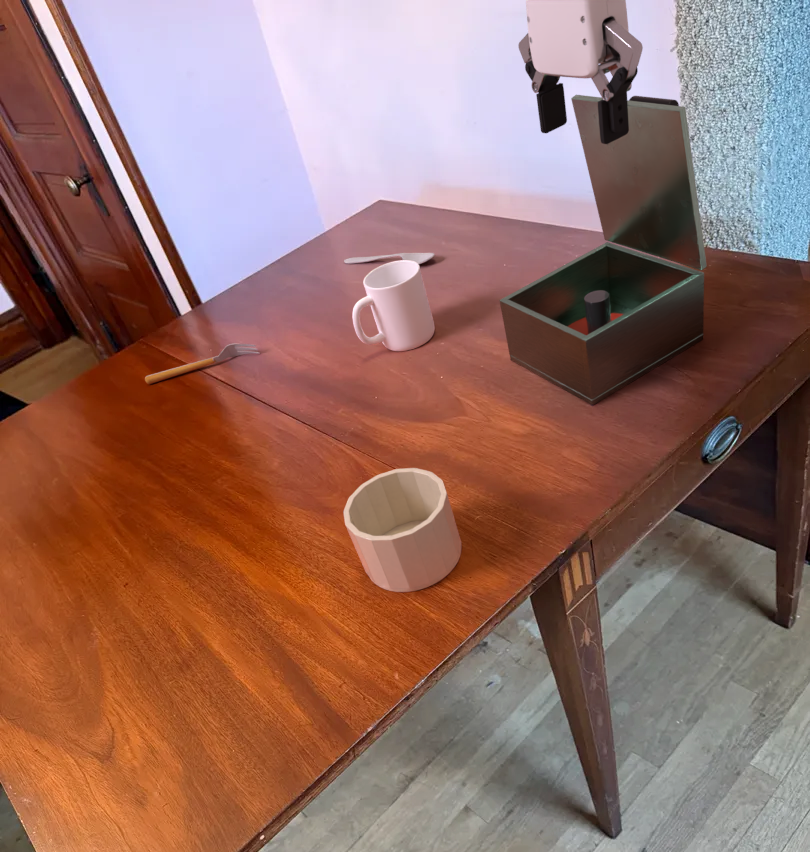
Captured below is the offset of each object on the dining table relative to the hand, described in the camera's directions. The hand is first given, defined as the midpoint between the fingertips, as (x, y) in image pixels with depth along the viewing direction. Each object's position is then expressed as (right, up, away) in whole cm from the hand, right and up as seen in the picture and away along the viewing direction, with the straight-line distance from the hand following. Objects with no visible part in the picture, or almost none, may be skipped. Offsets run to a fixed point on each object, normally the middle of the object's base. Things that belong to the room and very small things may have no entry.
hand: (583, 133), depth 79 cm
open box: (+7, -19, +17) cm, 26 cm away
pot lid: (+6, -17, +17) cm, 25 cm away
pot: (-18, -45, -1) cm, 48 cm away
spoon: (-22, +7, +55) cm, 60 cm away
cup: (-20, -14, +33) cm, 41 cm away
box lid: (+8, -2, +7) cm, 11 cm away
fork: (-52, -15, +44) cm, 70 cm away
